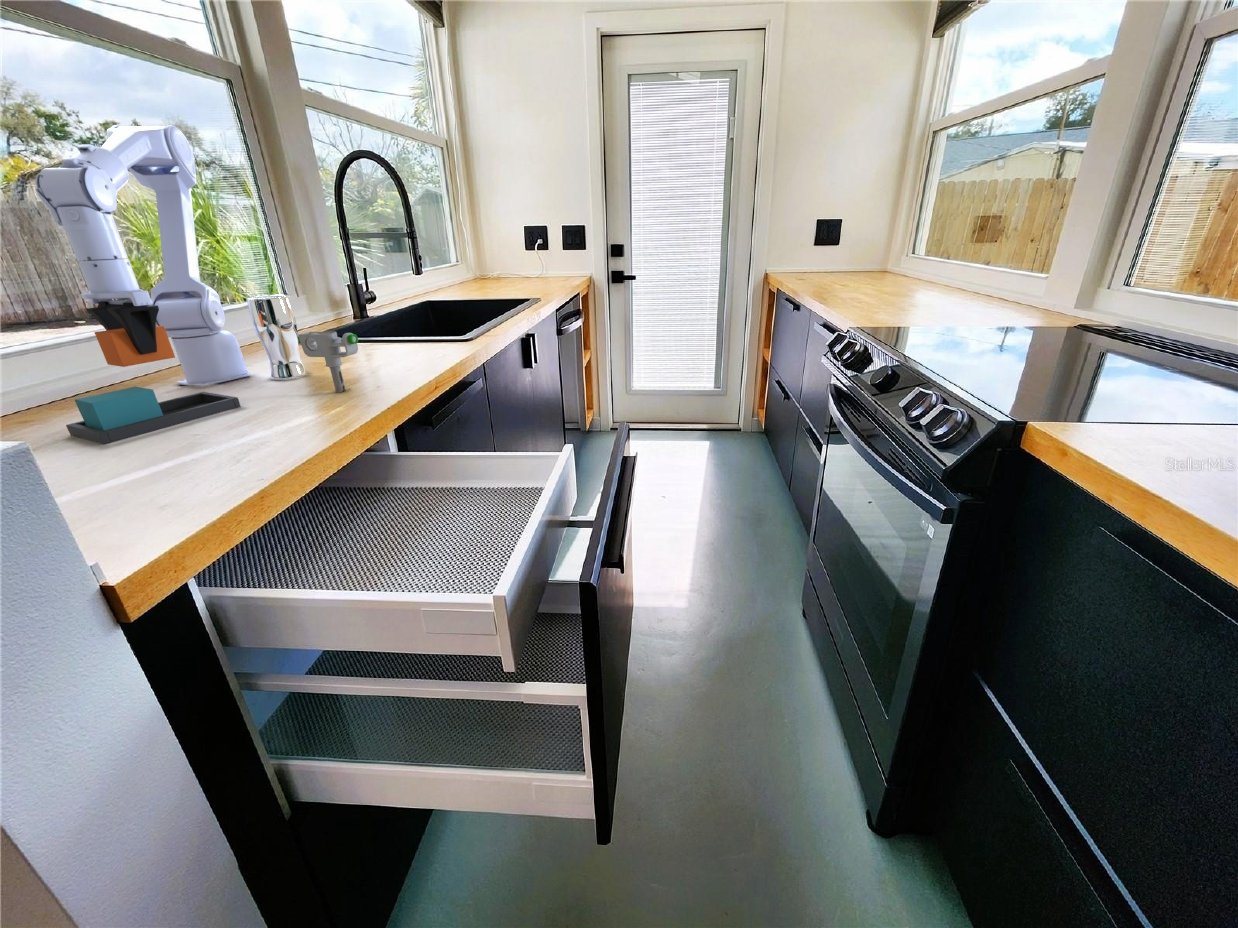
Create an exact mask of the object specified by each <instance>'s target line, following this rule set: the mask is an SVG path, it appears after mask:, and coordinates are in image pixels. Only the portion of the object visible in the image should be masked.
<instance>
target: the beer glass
mask: <svg viewBox="0 0 1238 928" xmlns="http://www.w3.org/2000/svg"><path fill="white" fill-rule="evenodd" d="M246 302H247V305H248V306H247V307H248V312H249V316H250V320H251V324H252V327H253V329H254V332H255V333H256V334H255V335H256V336H257V338H258V340H259V342H260V344H261V346H262V348H263V350H264V352H265V354H266V357H267V360H268V362H269V369H270V377H271V378H270V379H272V380H273V381H289V380H295V379H300V378H304V377H305V376H307V375H308V372H307V370H306V368H305V365H304V364H303V361H302V358H301V354H300V347H299V341H298V334H299V333H298V327H297V321H296V317H295V314H294V311H293V308H292V305H291V302H290V299H289V295H288V294H267V295H266V294H265V295H256V296H249V297H246Z"/></svg>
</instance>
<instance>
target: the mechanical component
mask: <svg viewBox="0 0 1238 928" xmlns="http://www.w3.org/2000/svg"><path fill="white" fill-rule="evenodd" d="M358 343H359V337H358V335H357V334H355V333H352V332H345V333H344V334H342V337H340V336H338V333H337V331H307V332H303V333H298V344H300V345H301V348H302V351H303V353H304V355H306V356H307V357H309V358H324V361H325V366H326V367H327V368H329V371H330V375H331V378H332V383H333V386H334V390H335V393H336V394H337V393H343V391H347V389H346V386H345V382H344V377H343V373H342V368H341V366H342V365H344V362H342V358H346V357H350V356H353V355H355V354H357V353H358V351H359V346H358ZM341 348H344V349H345V351H342V350H341Z"/></svg>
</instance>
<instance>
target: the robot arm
mask: <svg viewBox="0 0 1238 928" xmlns="http://www.w3.org/2000/svg"><path fill="white" fill-rule="evenodd" d="M106 134H107V139H106V141H105V142H104V143H103V144H102V145H101V146H96V145H93V144H90V143H89V144H88V143H85V144H84V143H83V144H82V143H81V144H79V145H78V146H76V149H77V150H78V152H77V153H75V154H74V155H73V156H71V157H65V158H64V159H62V162H63V163H62V164H61V165H59V166H58V167H46V168H45V167H44V168H42V169H41V170H40V172H38V173H37V174H36V176H35V186H36V188H35V191H36V193H37V196H38V197H39V199H40V200H41V202H42V203H43V205H45V206H46V207H47V208H48V209H49V211H50V212H51V214H52V217H53V218H54V221H55V222H56V223H57V225H58V226H59V227H62V228H63V230H64V232H65V235H66V236H67V239H68V241H69V244H70V247H71V250H72V252H73V254H74V256H75V259H76V261H77V263H78V266H79V269H80V271H81V274H82V276H83V278H84V280H85V283H86V286H87V288H88V290H86V291H85V293H80V297H81V299H83V300H84V299H85V300H86V299H87V300H88V301H89V303H90V304H91V305H96V306H97V307H87V308H86V309H85V310H86V312H87V313H88V314H89V315H90V316H91V317H93V318H94V319H95V320H96V321H97V322H98V323H99V324H100V325H101V326H102V327H103V328H104V329H105V331H106V330H113V329H121V328H124V329H125V331H126V332H127V334H128V336H129V338H130V339H131V341H132V343H133V345H134V347H135V348H136V350H137V351H138V352H139V354H148V353H154V352H157V342H156V326H164V328H165V330H166V333H167V336H168V338H171V342H172V345H173V347H174V350H175V354H176V356H177V358H178V361H179V364H180V367H181V369H182V371H183V375H184V377H185V379H181V380H178V381H176V384H177V385H182V386H196V387H202V386H207V385H216V384H221V383H225V382H229V381H234V380H237V379H241V378H242V379H243V378H246V377H250V376H251V375H252V374H251V372H248V369H247V365H246V362H245V358H244V356H243V353H242V350H241V346H240V344H239V342H238V339H237V338H236V337H235V335H234V334H233V333H232V332H230V331H228V330H223V328H224V326H225V324H226V316H225V311H224V309H223V306H222V303H221V299H220V295H219V293H218V292H217V291H216V290H215V289H214V288H212V287H211V286H209V285H207V284H206V283H204V282H202V281H201V275H200V266H199V257H198V248H197V247H198V246H197V238H196V229H195V218H194V209H193V208H194V207H193V199H192V191H191V189H192V188H193V187H194V186H196V185H197V173H196V162H195V154H194V151H193V149H192V147H191V145H190V143H189V141H188V139H187V137H186V135H185V134H184V133H183V131H181V130H180V129H179V128H178V127H177V126H175V125H173V124H172V125H171V124H168V125H166V126H165V125H163V126H122V125H116V124H115V125H112V126H111V127H110V128H106ZM130 174H132V176H133V177H134V178H135V180H136V181H137V182H138V183H139V184H140V185H141V186H143V187H145V188H147V189H149V190H152V191H154V193H155V199H156V208H157V209H156V210H157V217H158V227H159V238H160V248H161V257H162V267H163V276H164V277H163V279H162V280H161V281H159V282H158V283H157V284H155V285H154V286H153V287H152V288H151V289H150V293H149V291H148V290H143V289H142V288H140V286H139V283H138V280H137V278H136V275H135V272H134V270H133V267H132V263H131V261H130V259H129V256H128V253H127V250H126V248H125V246H124V243H123V240H122V237H121V235H120V233H119V229H118V226H117V224H116V222H115V219H114V216H113V213H112V212H113V211H114V212H115V211H116V210H117V208H118V201H117V196H118V192H119V191H120V190H121V189H122V188H123V187H124V186H125V185H126V184H127V183H128V181H129V179H130Z"/></svg>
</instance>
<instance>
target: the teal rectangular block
mask: <svg viewBox="0 0 1238 928" xmlns="http://www.w3.org/2000/svg"><path fill="white" fill-rule="evenodd" d="M74 403H75V404H76V407H77V409H78V412H79V414H80V415H81V417H82V421H84V422H85V424H86V426H87V427H89V428H93V429H97V430H101V431H106V430H110V429H113V428H117V427H121V426H125V425H129V424H133V423H136V422H140V421H144V420H148V419H152V418H156V417H159V416H163V413H162V411H161V408H160V406H159V401H158V398H157V395H156V394H155V390H154V389H151V388H146V387H140V386H131V387H130V386H129V387H128V388H122V389H117V390H112V391H108V392H102V393H98V394H93V395H89V396H84V397H79V398H75V399H74Z"/></svg>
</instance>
